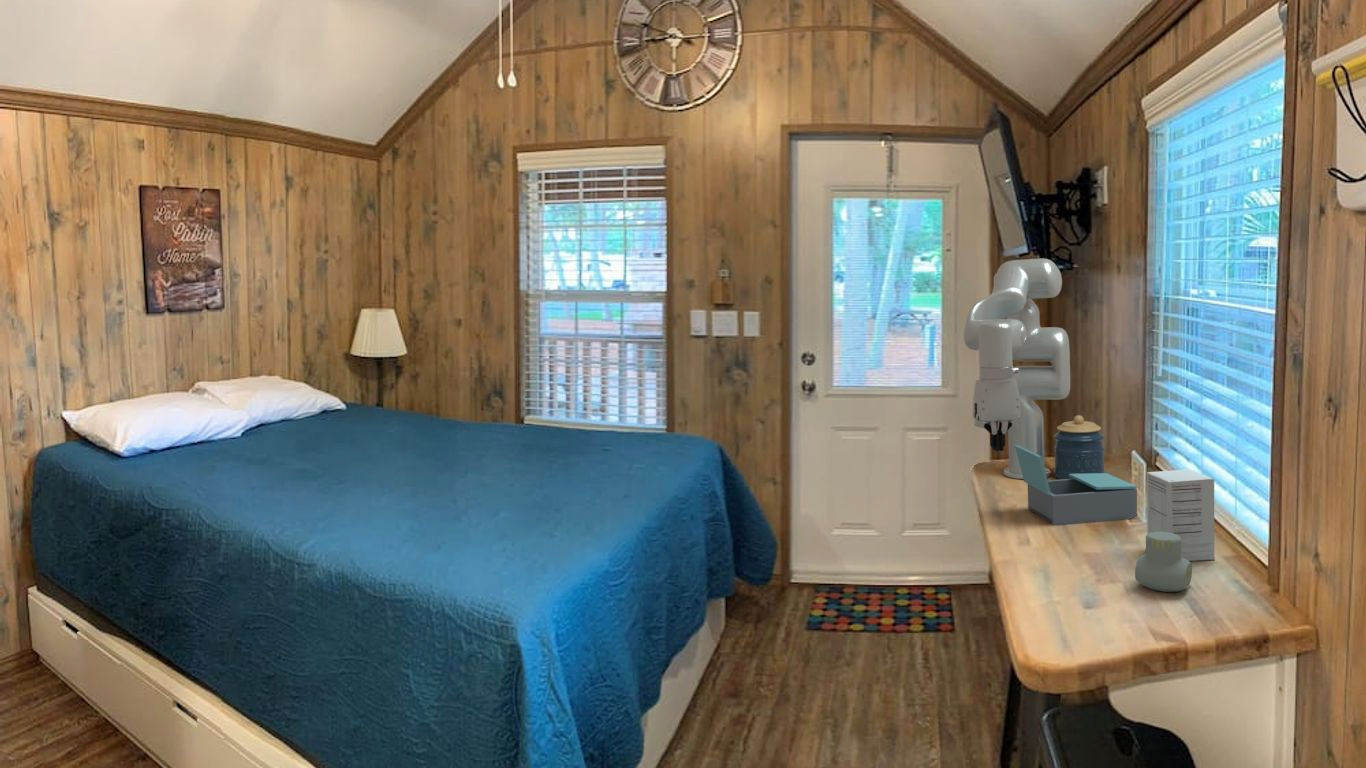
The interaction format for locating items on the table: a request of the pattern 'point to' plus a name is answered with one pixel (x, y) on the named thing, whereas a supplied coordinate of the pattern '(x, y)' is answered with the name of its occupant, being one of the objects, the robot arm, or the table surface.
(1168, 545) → the air freshener
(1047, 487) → the flap
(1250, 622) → the table surface
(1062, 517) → the box
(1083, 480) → the flap
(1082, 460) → the canister
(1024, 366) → the robot arm
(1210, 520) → the supplement box
